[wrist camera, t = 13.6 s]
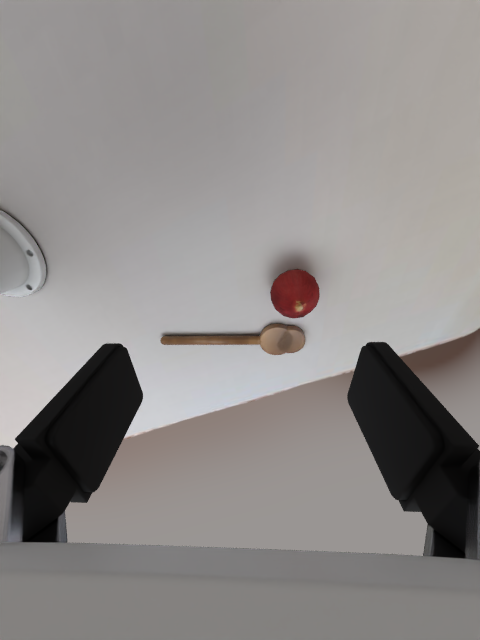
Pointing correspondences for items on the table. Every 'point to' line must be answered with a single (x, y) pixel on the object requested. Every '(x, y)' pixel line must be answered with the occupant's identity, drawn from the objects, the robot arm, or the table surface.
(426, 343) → the table surface
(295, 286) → the onion
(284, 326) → the spoon
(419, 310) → the table surface
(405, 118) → the table surface
